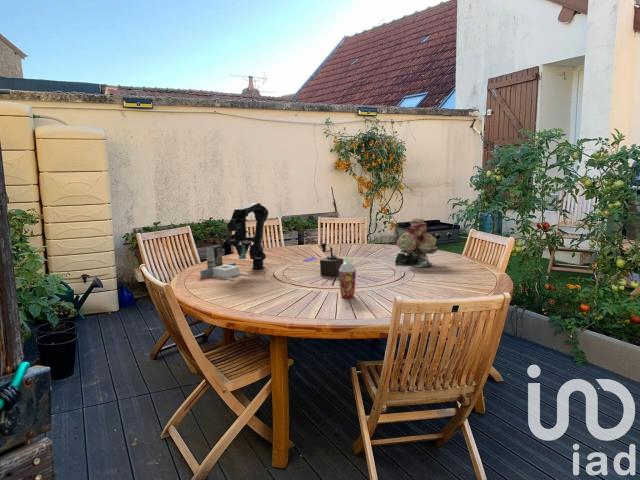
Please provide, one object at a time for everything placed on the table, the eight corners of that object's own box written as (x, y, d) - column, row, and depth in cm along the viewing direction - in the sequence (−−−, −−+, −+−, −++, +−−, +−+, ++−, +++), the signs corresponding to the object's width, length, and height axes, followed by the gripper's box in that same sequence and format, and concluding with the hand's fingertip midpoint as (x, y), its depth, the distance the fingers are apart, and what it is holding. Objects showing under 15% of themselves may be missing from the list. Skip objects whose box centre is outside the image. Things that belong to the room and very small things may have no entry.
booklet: (331, 265, 290) (331, 264, 290) (302, 261, 305) (302, 260, 305) (342, 262, 300) (342, 261, 300) (313, 258, 315) (313, 257, 315)
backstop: (233, 270, 279) (233, 262, 278) (257, 274, 267) (257, 266, 266) (200, 278, 258) (200, 270, 258) (225, 283, 246) (224, 274, 245)
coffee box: (216, 273, 272) (215, 247, 269) (207, 272, 274) (205, 247, 271) (223, 269, 281) (222, 245, 278) (214, 269, 282) (213, 244, 280)
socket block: (226, 272, 272) (226, 264, 271) (239, 274, 265) (238, 266, 265) (213, 276, 263) (212, 267, 262) (225, 278, 257) (225, 270, 256)
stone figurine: (392, 267, 279) (393, 220, 275) (401, 258, 306) (402, 215, 302) (434, 270, 270) (435, 221, 265) (439, 260, 297) (440, 216, 292)
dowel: (242, 257, 267) (241, 244, 266) (247, 258, 264) (246, 245, 263) (237, 258, 263) (237, 245, 262) (242, 259, 261) (242, 246, 260)
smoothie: (338, 294, 219) (337, 255, 216) (354, 294, 220) (354, 254, 217) (340, 299, 211) (339, 258, 208) (357, 298, 212) (357, 258, 209)
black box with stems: (344, 273, 265) (344, 244, 262) (334, 277, 256) (334, 246, 253) (323, 270, 273) (322, 242, 271) (312, 274, 264) (312, 244, 262)
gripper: (242, 227, 274) (243, 251, 276) (220, 230, 258) (221, 256, 261) (255, 228, 267) (256, 253, 270) (233, 231, 252) (234, 258, 254)
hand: (242, 255), depth 264 cm, fingers closed on dowel, 4 cm apart
